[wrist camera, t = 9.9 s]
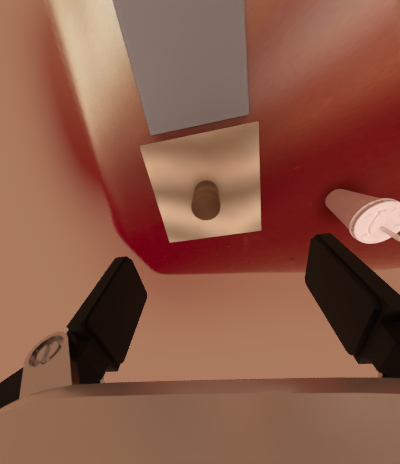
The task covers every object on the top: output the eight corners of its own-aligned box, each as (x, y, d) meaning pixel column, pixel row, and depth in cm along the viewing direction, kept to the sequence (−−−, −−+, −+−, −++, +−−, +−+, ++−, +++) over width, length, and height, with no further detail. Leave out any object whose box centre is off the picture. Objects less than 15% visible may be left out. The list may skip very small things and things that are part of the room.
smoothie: (318, 219, 34) (377, 269, 22) (315, 188, 32) (381, 226, 19) (356, 209, 33) (441, 256, 21) (356, 175, 30) (456, 207, 18)
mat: (112, -7, 21) (110, -10, 21) (241, -50, 19) (242, -54, 19) (151, 135, 29) (150, 135, 28) (248, 114, 27) (249, 114, 26)
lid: (142, 145, 23) (121, 150, 17) (256, 121, 21) (272, 119, 16) (171, 238, 30) (162, 264, 24) (259, 226, 28) (271, 251, 22)
